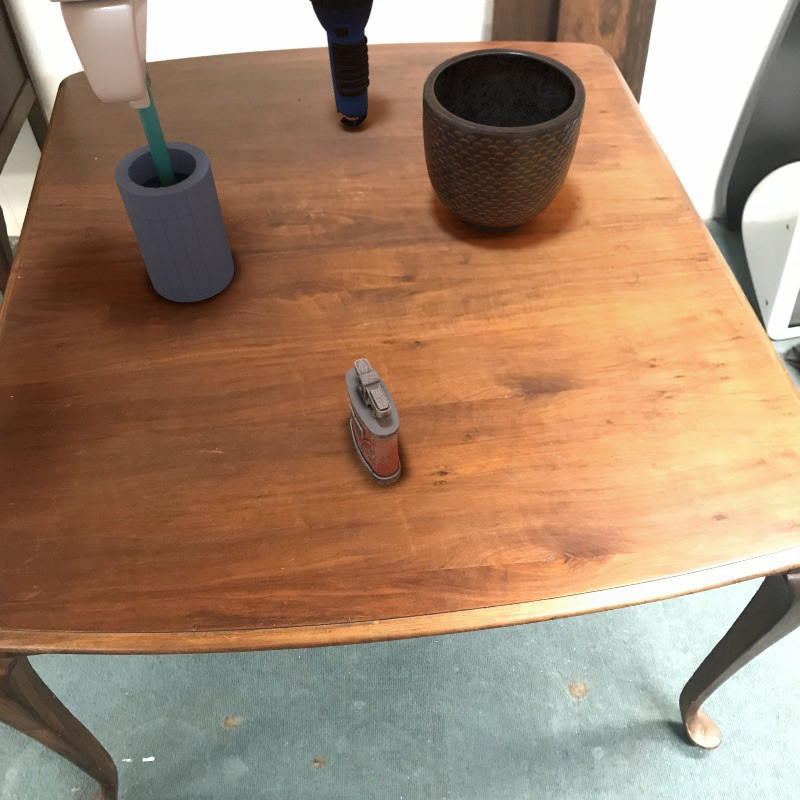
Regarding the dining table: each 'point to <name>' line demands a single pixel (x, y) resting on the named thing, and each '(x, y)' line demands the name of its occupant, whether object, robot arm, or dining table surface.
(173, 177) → the brush
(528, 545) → the dining table surface
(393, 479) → the lighter
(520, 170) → the planter
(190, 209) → the jar
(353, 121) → the flashlight
